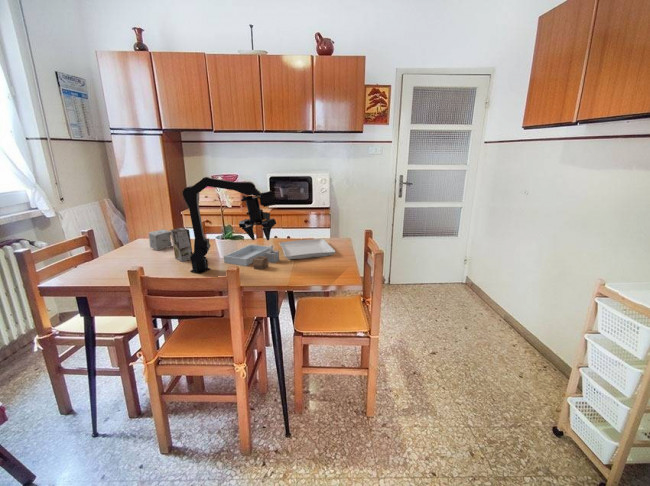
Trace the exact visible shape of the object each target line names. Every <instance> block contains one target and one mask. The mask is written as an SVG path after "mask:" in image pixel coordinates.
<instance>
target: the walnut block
mask: <svg viewBox="0 0 650 486" xmlns="http://www.w3.org/2000/svg"><path fill="white" fill-rule="evenodd" d="M252 265H253V269H254V270H259V271H264V270H266V269H268V268H269V263H268V257H263V256H258V257H256V258H254V259H253V263H252Z"/></svg>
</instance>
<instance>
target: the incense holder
mask: <svg viewBox="0 0 650 486" xmlns="http://www.w3.org/2000/svg"><path fill="white" fill-rule="evenodd" d="M148 239H149V248H151V249H153V250H156V251H160V250H162V249H165V248H169V247H173V242H172V237H171V231H170V230H166V229H164V228H163V229H158V230H155V231H149V232H148Z"/></svg>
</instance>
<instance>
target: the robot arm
mask: <svg viewBox="0 0 650 486" xmlns="http://www.w3.org/2000/svg"><path fill="white" fill-rule="evenodd" d="M207 187H209V188H210V187H211V188H218V189H222V190H223V189H224V190H230V191H235V192H237V193H240V194H243V197H242V198H241V202H245V204H246V205H245V206H246V209H247V212H246V215H248V217H249V218H247V219H243V220H240V221H239V223H238V227H239V228H241V230H243V231H244V232H245V233H246V234H247V235H248V236H249V238H250V239H251V240H252V241H254V240H255V238H256V237H255V234H254V233H255V232H254V226H262V232H263V233H264V237H265V238H266V241H270V237H271V236H270V235H271V232H272V231H271V230H272V228H273V227H275V226H276V225H277V221H276V219H275V218H271V213H270V212H265V211H263V209H262V208H261V207H260V206H263V208H265V207H271V206H276V201H275V197H274V194H273V191H272V190H269V191H266V192H265V191H264V192H260V190H258V189H257V188H256V184H255V183H254V182H253V181H234V180H233V181H231V180H226V179H219V178H214V177H209V176H204V177H203V178H201V179H200V181H198V182H197V183H194V184H193V185H190V186H187V187H185V188H184V189H183V190H182V197H183V199H184V201H185V204H186V205H187V207H188V209H189V216H190V219H191V220H190V221H191V225H192V229H193V230H192V231H193V237H194V242H193V251H192V253H193V254H192V255H191V257H190V259H191V260H190V262H191V268H192V269H190V273H195V274H203V273H205V272H207V271H209V270H210V269H211V267H209V264H208V258H207V256H206V255H208V253H209V250H210V248H211V243H210V238H209V237H207V238H206V236H205V233H204V227H203V221H202V217H201V211H200V192H202V191H203V190H204V189H206V188H207Z"/></svg>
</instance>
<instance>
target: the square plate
mask: <svg viewBox="0 0 650 486" xmlns="http://www.w3.org/2000/svg"><path fill="white" fill-rule="evenodd" d="M278 244H279V246H280V247H281V249H282V251H283V255H284V257H285V258H287V259H288V260H302V259H313V258H319V257H329V256H333V255H335V254H336V253H337V251H336V250H335V249H334V248H333V247H332V246H331V245H330V244H329V243H328V242H327V241H326V240H325V239H324V238H313V239H299V240H289V241H288V240H287V241H280V242H278Z"/></svg>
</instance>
